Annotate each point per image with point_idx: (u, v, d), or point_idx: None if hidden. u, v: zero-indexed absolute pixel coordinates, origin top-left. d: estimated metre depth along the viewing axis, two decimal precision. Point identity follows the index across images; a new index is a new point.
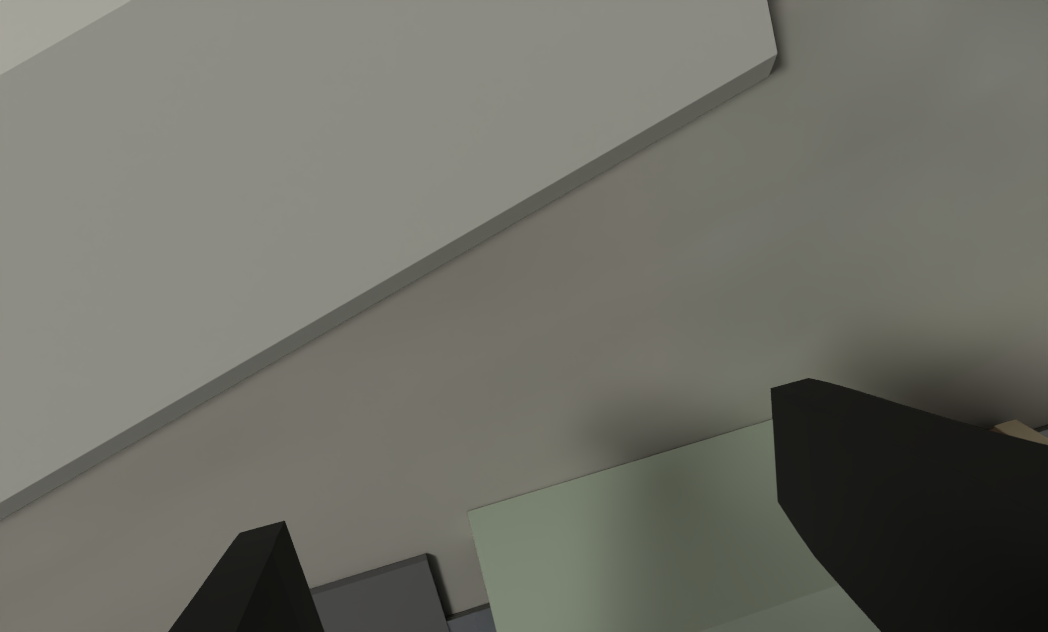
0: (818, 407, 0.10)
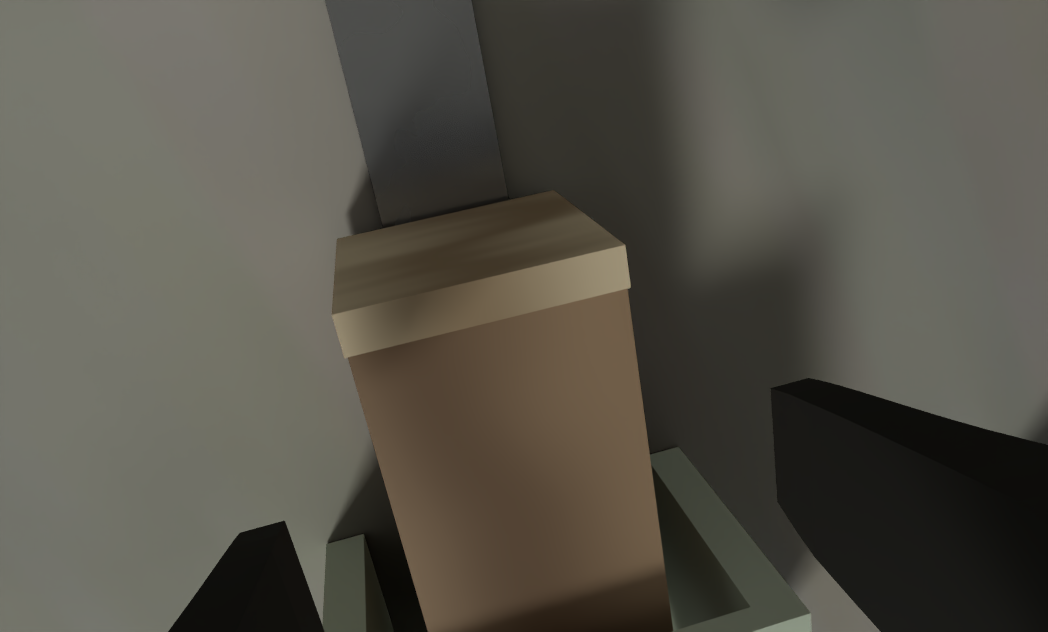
0: (818, 407, 0.10)
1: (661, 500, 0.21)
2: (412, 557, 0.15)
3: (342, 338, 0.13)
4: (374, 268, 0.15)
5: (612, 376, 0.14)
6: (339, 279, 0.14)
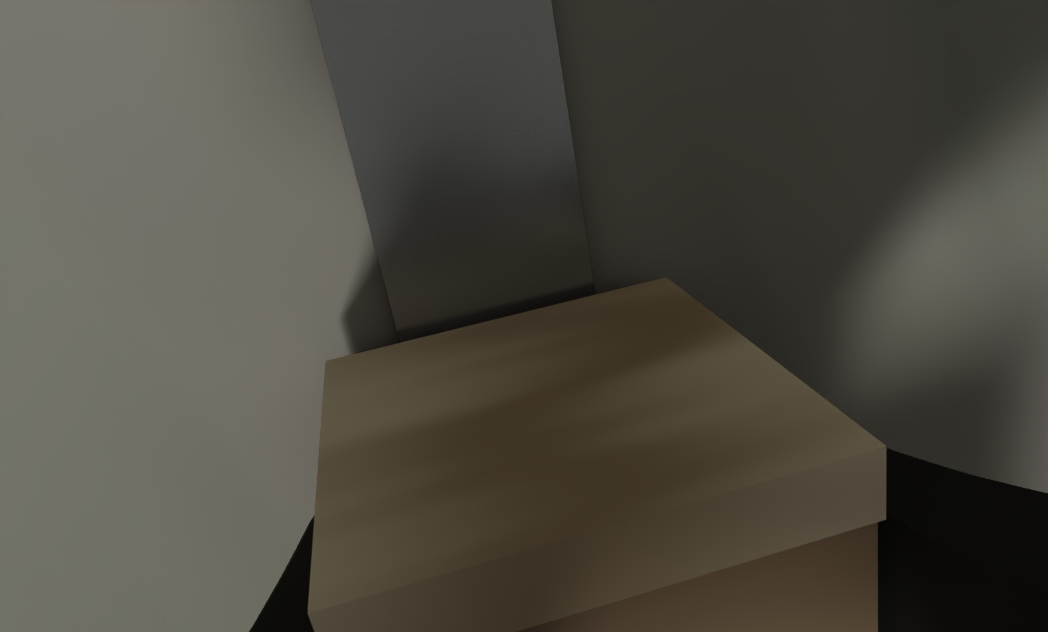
0: None
1: None
2: None
3: None
4: (390, 454, 0.08)
5: None
6: (326, 481, 0.08)
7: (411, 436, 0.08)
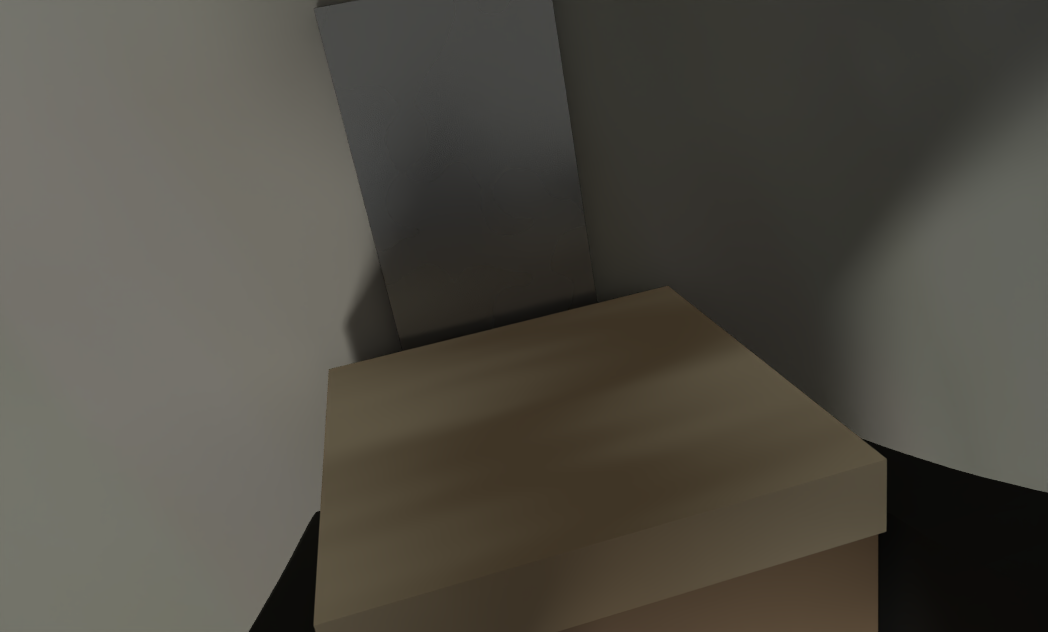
0: None
1: None
2: None
3: None
4: (394, 465, 0.08)
5: None
6: (331, 491, 0.08)
7: (415, 446, 0.08)
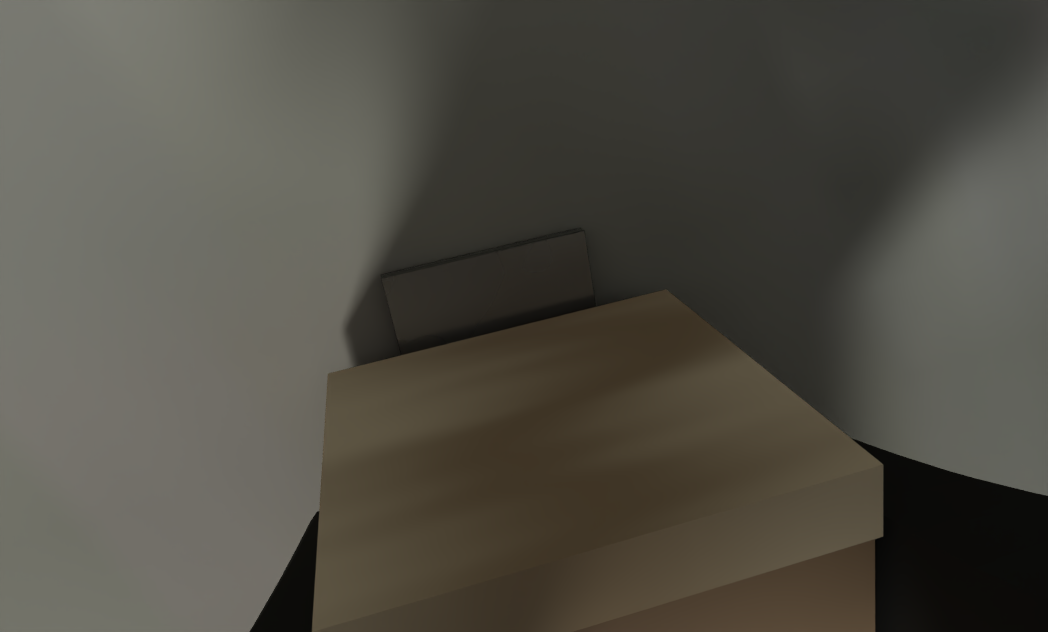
0: None
1: None
2: None
3: None
4: (392, 470, 0.08)
5: None
6: (329, 497, 0.08)
7: (413, 451, 0.08)
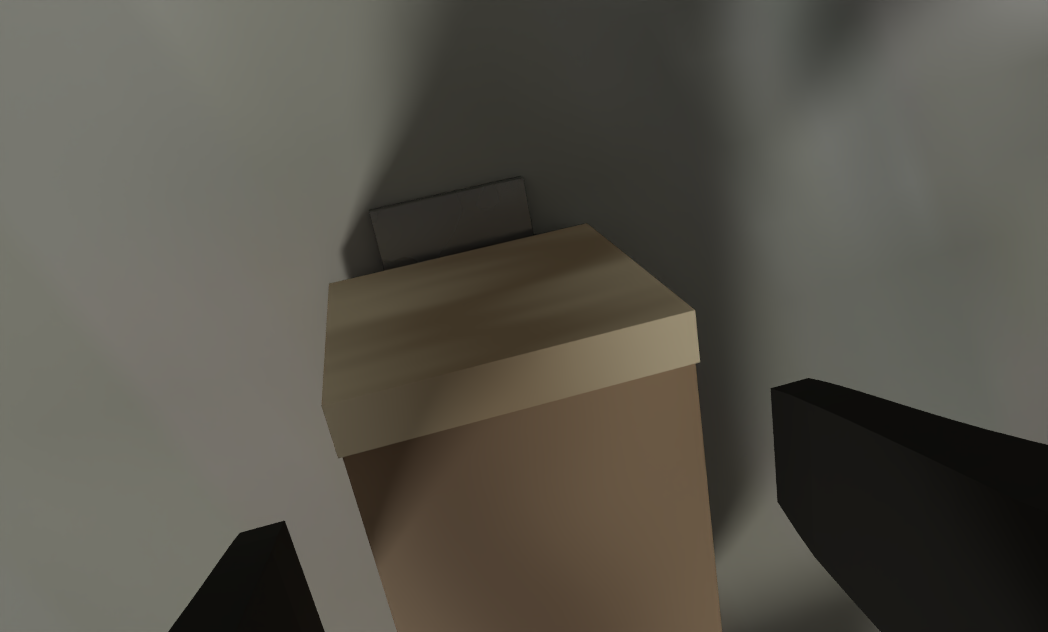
0: (818, 407, 0.10)
1: None
2: None
3: (335, 433, 0.10)
4: (375, 331, 0.12)
5: (672, 468, 0.11)
6: (331, 346, 0.12)
7: (390, 321, 0.12)
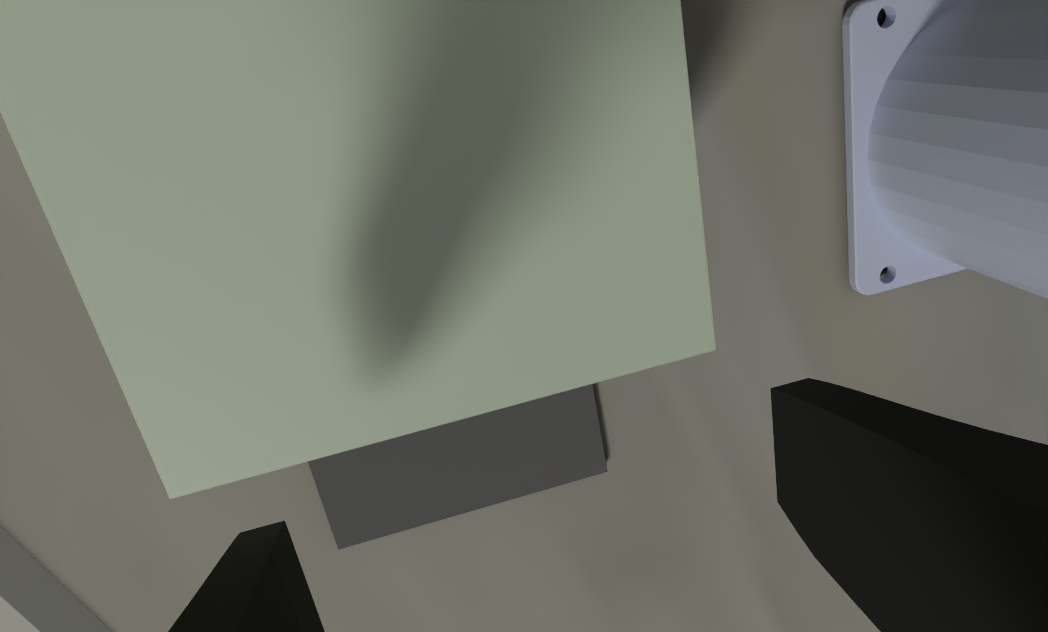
0: (818, 407, 0.10)
1: None
2: None
3: None
4: None
5: None
6: None
7: None
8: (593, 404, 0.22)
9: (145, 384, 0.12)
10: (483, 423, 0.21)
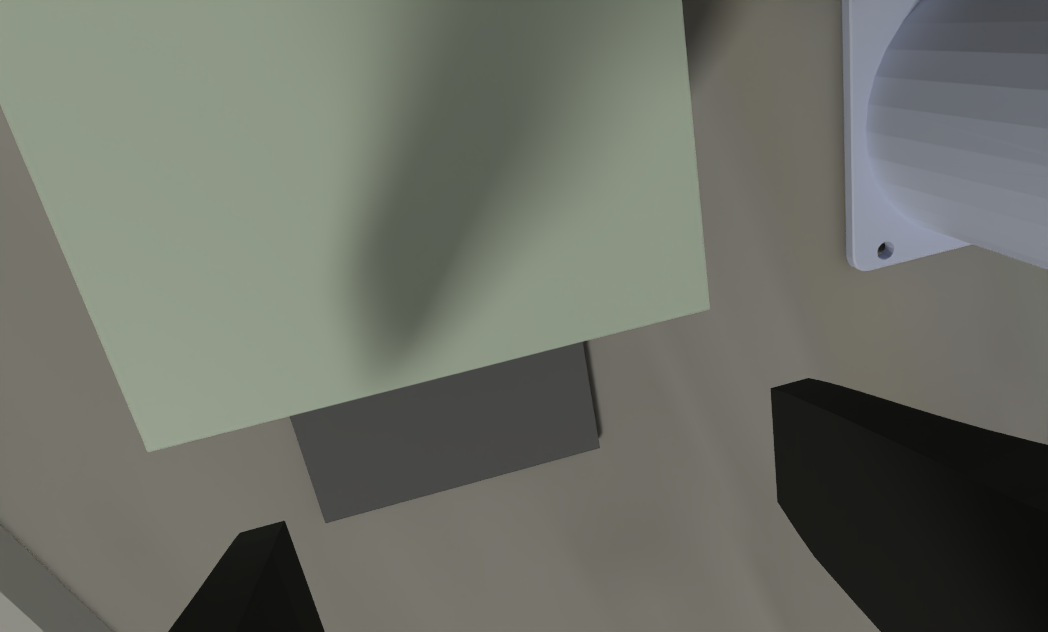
0: (818, 407, 0.10)
1: None
2: None
3: None
4: None
5: None
6: None
7: None
8: (586, 378, 0.21)
9: (122, 331, 0.12)
10: (474, 396, 0.21)
